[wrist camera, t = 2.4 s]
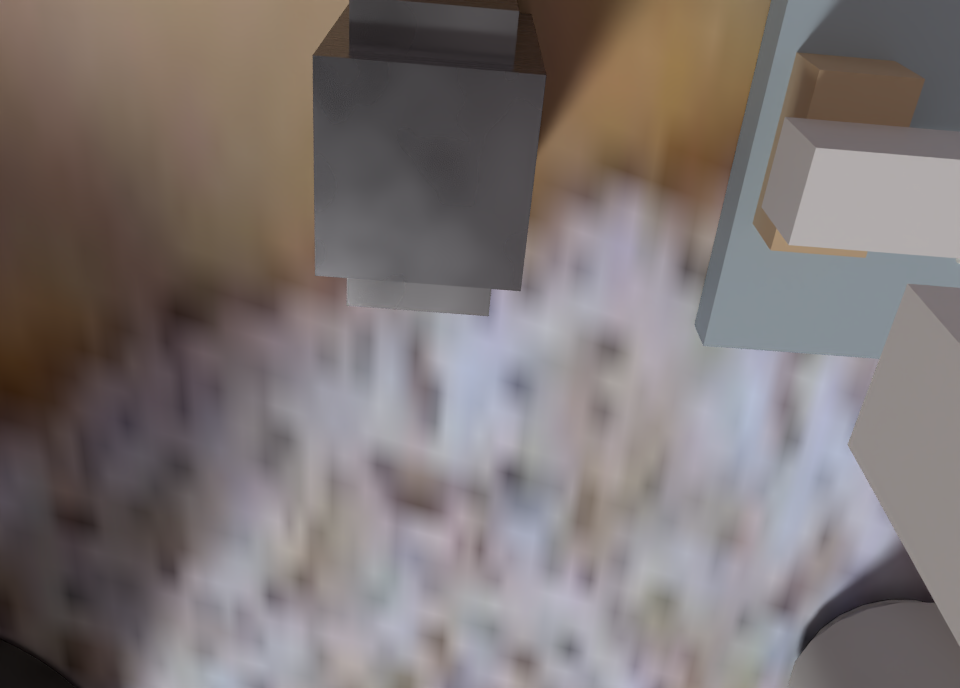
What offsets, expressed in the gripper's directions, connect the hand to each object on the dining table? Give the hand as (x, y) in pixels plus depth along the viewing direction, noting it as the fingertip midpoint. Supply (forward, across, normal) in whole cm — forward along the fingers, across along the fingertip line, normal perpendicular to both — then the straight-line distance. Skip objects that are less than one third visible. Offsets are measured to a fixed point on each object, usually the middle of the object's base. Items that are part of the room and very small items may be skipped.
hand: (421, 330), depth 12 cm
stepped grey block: (+12, 0, 0) cm, 12 cm away
